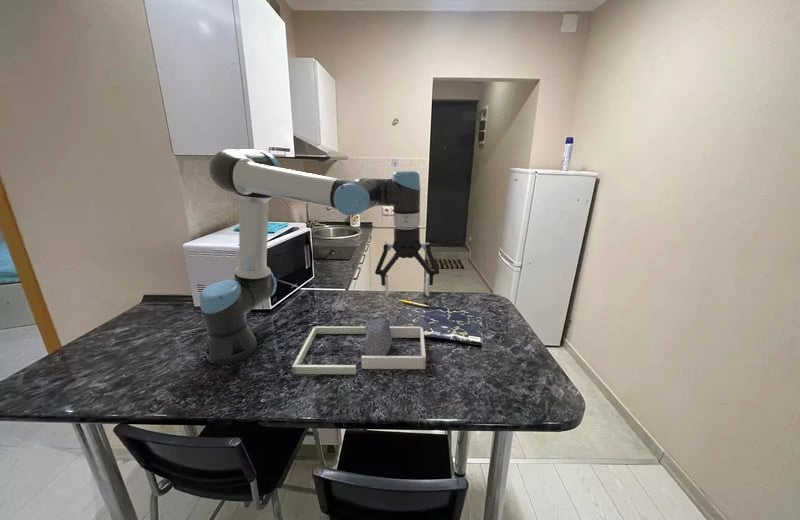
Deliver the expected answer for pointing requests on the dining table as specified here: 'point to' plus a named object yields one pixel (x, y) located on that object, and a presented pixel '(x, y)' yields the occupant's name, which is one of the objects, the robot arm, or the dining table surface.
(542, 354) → the dining table surface
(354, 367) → the pale green u-shaped frame
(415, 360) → the frame
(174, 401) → the dining table surface
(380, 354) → the stone
